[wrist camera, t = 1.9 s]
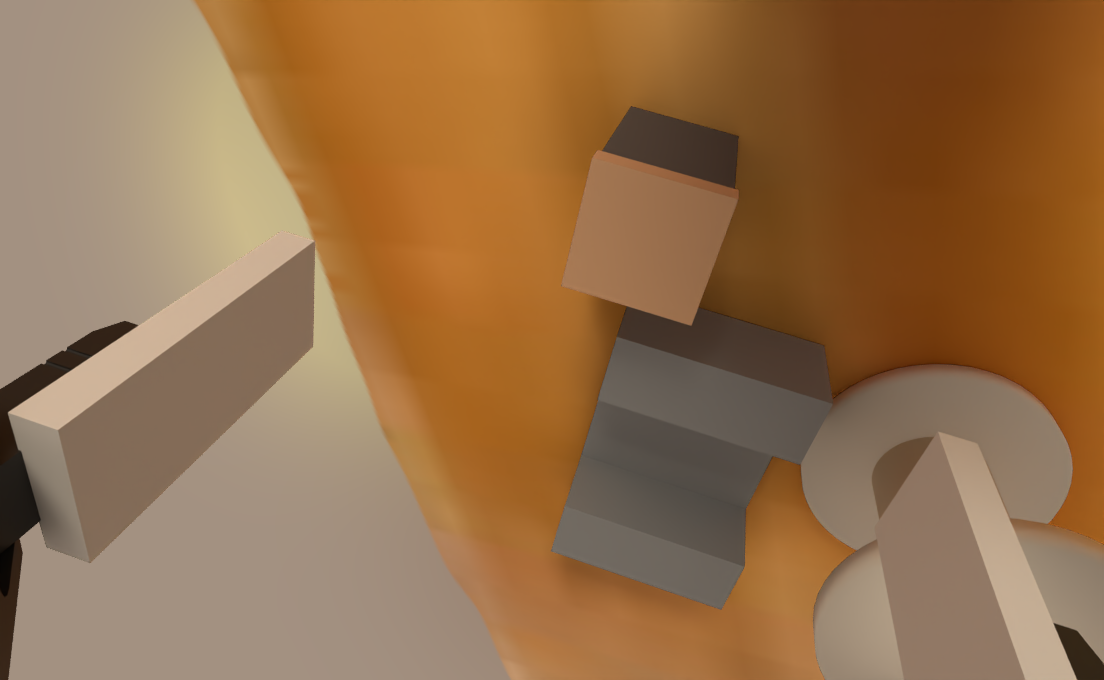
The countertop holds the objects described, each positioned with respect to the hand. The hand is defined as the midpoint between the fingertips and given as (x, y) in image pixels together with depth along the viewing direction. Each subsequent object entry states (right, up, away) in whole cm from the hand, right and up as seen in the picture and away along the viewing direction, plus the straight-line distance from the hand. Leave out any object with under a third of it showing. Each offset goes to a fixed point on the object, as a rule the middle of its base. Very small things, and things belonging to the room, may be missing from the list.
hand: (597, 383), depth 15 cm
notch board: (+5, -3, +17) cm, 18 cm away
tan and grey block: (+3, +7, +12) cm, 14 cm away
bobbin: (+15, -4, +15) cm, 22 cm away
